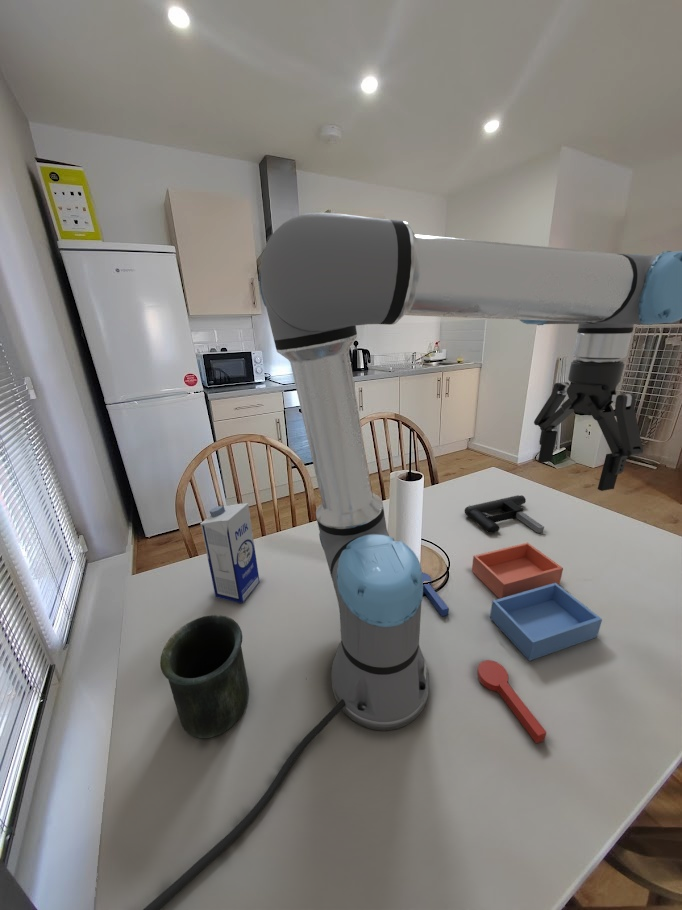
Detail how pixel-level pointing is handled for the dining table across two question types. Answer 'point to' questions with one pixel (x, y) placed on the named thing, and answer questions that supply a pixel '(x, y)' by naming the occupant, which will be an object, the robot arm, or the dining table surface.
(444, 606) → the blue spoon
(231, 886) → the dining table surface
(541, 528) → the door handle
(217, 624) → the dark green pot
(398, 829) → the dining table surface
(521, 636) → the blue bin
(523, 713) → the red spoon
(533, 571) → the red bin
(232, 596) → the milk carton
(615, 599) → the dining table surface
